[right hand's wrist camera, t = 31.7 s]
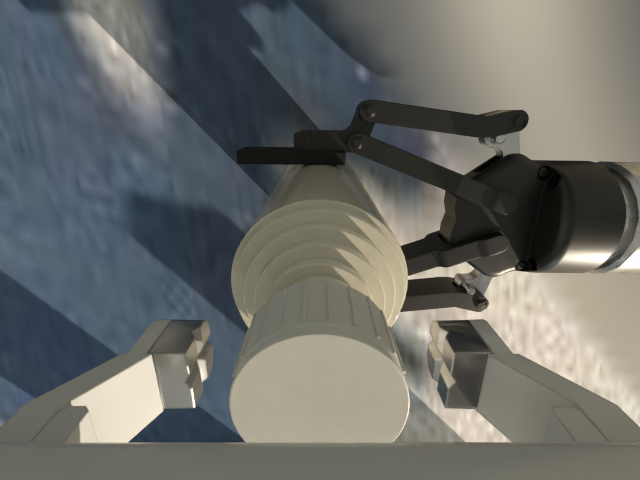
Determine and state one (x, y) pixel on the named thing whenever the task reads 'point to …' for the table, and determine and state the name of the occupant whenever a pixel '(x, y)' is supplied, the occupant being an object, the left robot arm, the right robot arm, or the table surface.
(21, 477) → the right robot arm
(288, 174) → the bottle
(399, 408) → the cap
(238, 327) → the table surface
